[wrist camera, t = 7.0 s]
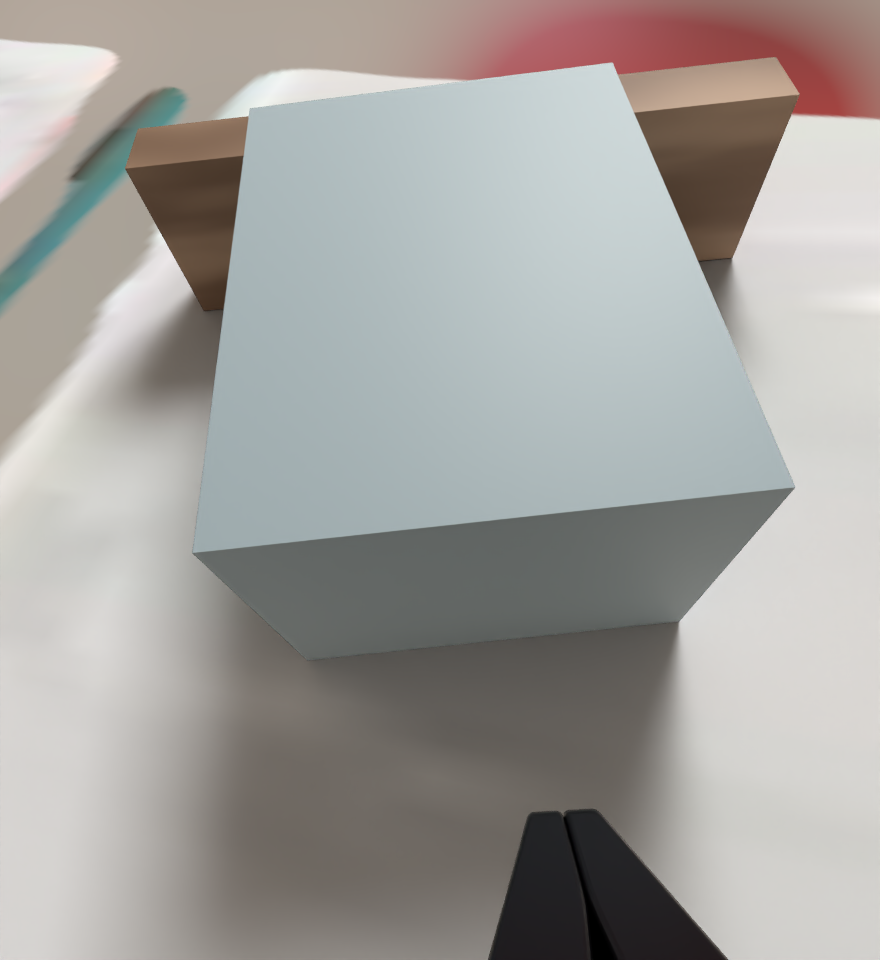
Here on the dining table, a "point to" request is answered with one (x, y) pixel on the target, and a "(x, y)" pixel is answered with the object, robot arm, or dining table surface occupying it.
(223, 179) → the walnut board
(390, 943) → the dining table surface
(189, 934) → the dining table surface
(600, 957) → the robot arm
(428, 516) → the slate block
